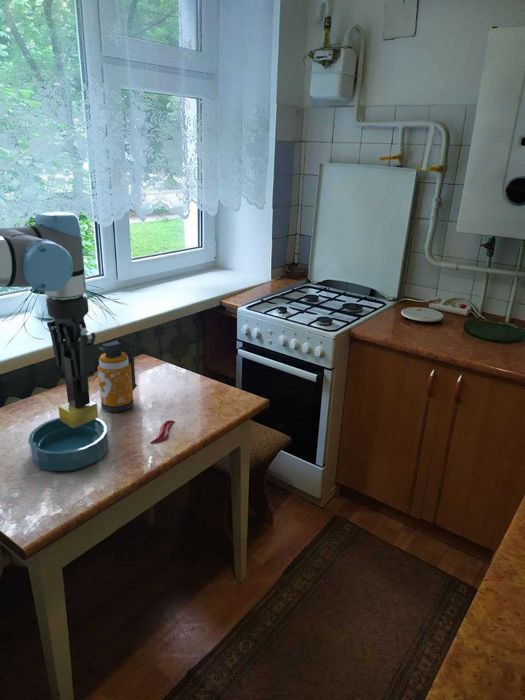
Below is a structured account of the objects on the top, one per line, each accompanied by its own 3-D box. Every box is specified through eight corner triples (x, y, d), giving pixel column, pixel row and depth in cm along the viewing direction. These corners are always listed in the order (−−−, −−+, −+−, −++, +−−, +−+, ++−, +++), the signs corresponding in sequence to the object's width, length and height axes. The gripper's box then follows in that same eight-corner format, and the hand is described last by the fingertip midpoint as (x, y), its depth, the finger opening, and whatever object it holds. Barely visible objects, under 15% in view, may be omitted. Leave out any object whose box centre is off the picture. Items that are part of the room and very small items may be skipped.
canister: (95, 406, 143) (88, 341, 136) (127, 394, 151) (123, 332, 144) (113, 417, 138) (107, 350, 130) (145, 403, 146) (142, 340, 138)
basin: (58, 483, 110) (55, 462, 108) (17, 454, 119) (14, 434, 117) (123, 450, 123) (121, 431, 121) (82, 426, 133) (80, 408, 130)
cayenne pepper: (157, 445, 125) (157, 439, 124) (142, 440, 127) (142, 434, 126) (184, 424, 135) (184, 418, 134) (170, 420, 137) (170, 414, 136)
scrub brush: (73, 428, 102) (65, 364, 97) (59, 420, 105) (51, 357, 100) (98, 417, 107) (92, 355, 101) (84, 410, 109) (78, 349, 104)
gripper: (107, 298, 95) (116, 407, 103) (61, 284, 103) (73, 386, 112) (72, 306, 89) (85, 421, 98) (27, 291, 98) (42, 397, 106)
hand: (79, 402), depth 105 cm, fingers closed on scrub brush, 2 cm apart
